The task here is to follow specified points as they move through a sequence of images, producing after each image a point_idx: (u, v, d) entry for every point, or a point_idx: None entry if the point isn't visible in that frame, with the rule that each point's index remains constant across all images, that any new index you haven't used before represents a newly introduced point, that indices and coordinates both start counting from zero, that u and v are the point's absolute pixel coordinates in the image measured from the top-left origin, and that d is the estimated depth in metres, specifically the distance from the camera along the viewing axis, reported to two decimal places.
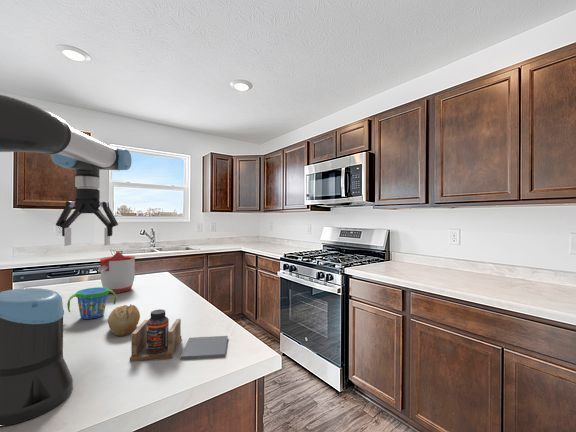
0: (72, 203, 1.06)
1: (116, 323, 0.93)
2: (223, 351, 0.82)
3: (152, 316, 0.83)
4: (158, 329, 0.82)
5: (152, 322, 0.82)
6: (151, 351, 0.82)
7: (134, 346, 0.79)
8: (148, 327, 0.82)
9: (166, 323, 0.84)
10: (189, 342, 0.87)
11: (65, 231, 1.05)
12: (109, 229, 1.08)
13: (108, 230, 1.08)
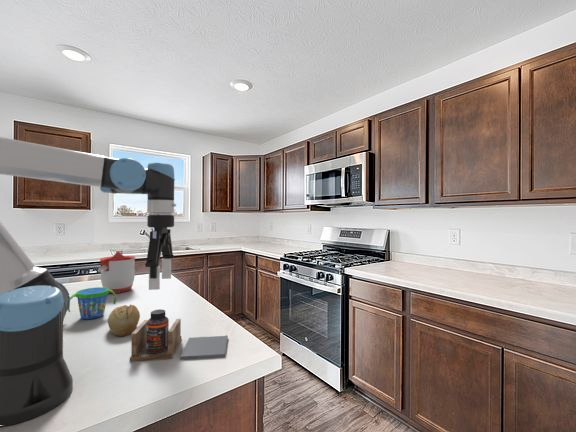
0: None
1: (116, 323, 0.93)
2: (223, 351, 0.82)
3: (152, 316, 0.83)
4: (158, 329, 0.82)
5: (152, 322, 0.82)
6: (151, 351, 0.82)
7: (134, 346, 0.79)
8: (148, 327, 0.82)
9: (166, 323, 0.84)
10: (189, 342, 0.87)
11: None
12: None
13: None
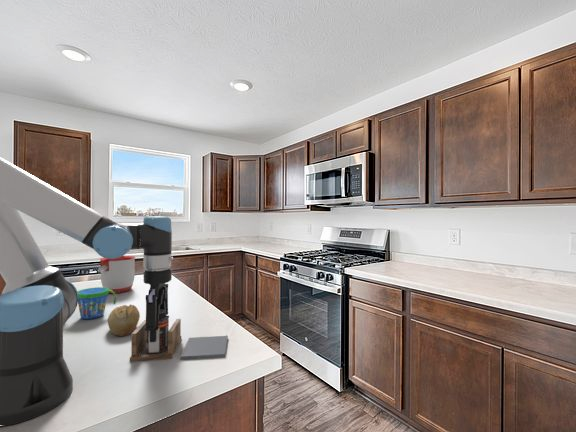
0: None
1: (116, 323, 0.93)
2: (223, 351, 0.82)
3: None
4: None
5: None
6: None
7: (134, 346, 0.79)
8: None
9: (166, 323, 0.84)
10: (189, 342, 0.87)
11: None
12: None
13: None
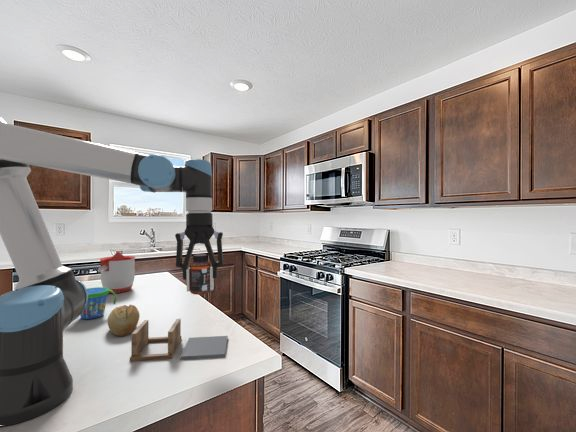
0: (182, 234, 0.84)
1: (115, 323, 0.93)
2: (223, 351, 0.82)
3: (205, 258, 0.85)
4: None
5: (208, 262, 0.85)
6: (209, 290, 0.85)
7: (134, 346, 0.79)
8: (206, 268, 0.84)
9: None
10: (189, 342, 0.87)
11: (187, 273, 0.84)
12: (215, 269, 0.85)
13: (214, 271, 0.85)
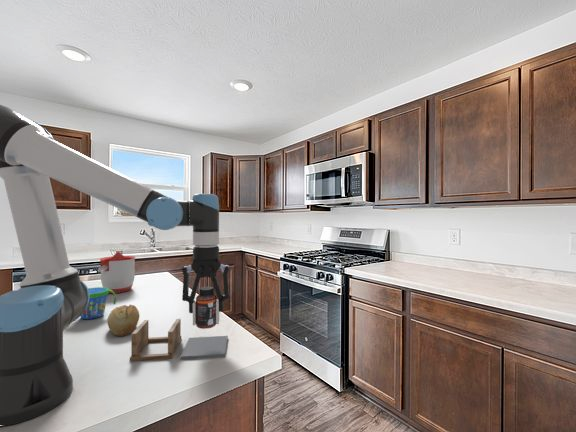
0: (189, 267, 0.84)
1: (115, 323, 0.93)
2: (223, 351, 0.82)
3: (211, 291, 0.85)
4: None
5: (214, 295, 0.85)
6: (215, 323, 0.85)
7: (134, 346, 0.79)
8: (213, 302, 0.84)
9: None
10: (189, 342, 0.87)
11: (193, 307, 0.84)
12: (221, 303, 0.85)
13: (220, 304, 0.85)
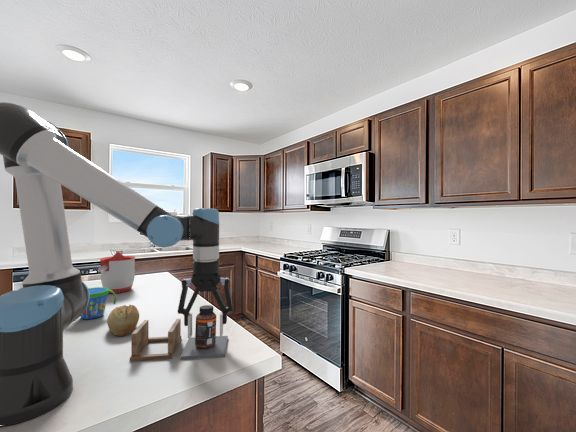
0: (188, 281, 0.84)
1: (115, 323, 0.93)
2: (223, 351, 0.82)
3: (211, 310, 0.85)
4: None
5: (214, 315, 0.86)
6: (214, 343, 0.85)
7: (134, 346, 0.79)
8: (212, 321, 0.84)
9: None
10: (189, 342, 0.87)
11: (189, 320, 0.84)
12: (225, 315, 0.86)
13: (223, 316, 0.86)
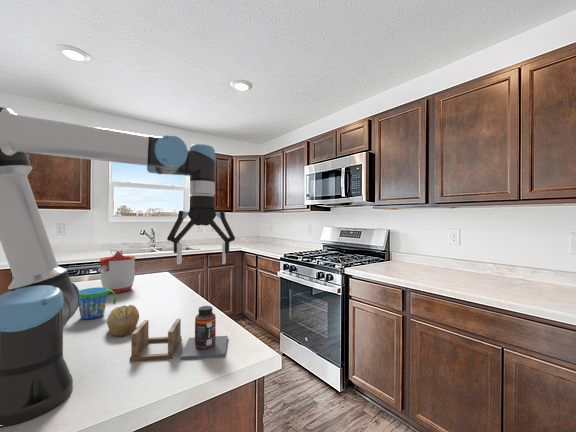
0: (185, 213, 0.88)
1: (115, 323, 0.93)
2: (223, 351, 0.82)
3: (210, 311, 0.85)
4: None
5: (213, 315, 0.85)
6: (214, 343, 0.85)
7: (134, 346, 0.79)
8: (211, 322, 0.84)
9: None
10: (189, 342, 0.87)
11: (178, 247, 0.87)
12: (227, 244, 0.89)
13: (226, 246, 0.89)
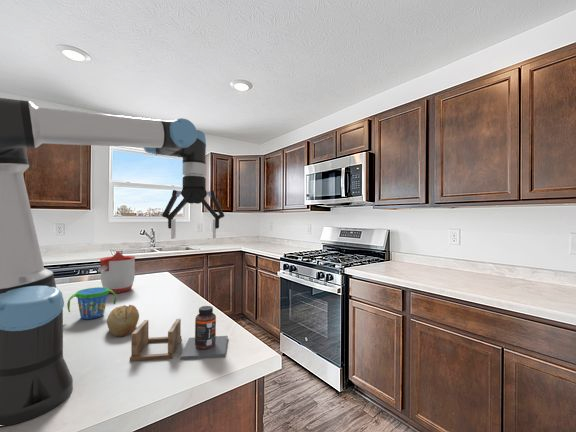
0: (178, 192, 0.97)
1: (115, 323, 0.93)
2: (223, 351, 0.82)
3: (210, 311, 0.85)
4: None
5: (213, 316, 0.85)
6: (214, 343, 0.85)
7: (134, 346, 0.79)
8: (212, 322, 0.84)
9: None
10: (189, 342, 0.87)
11: (172, 223, 0.96)
12: (217, 221, 0.99)
13: (216, 222, 0.99)
